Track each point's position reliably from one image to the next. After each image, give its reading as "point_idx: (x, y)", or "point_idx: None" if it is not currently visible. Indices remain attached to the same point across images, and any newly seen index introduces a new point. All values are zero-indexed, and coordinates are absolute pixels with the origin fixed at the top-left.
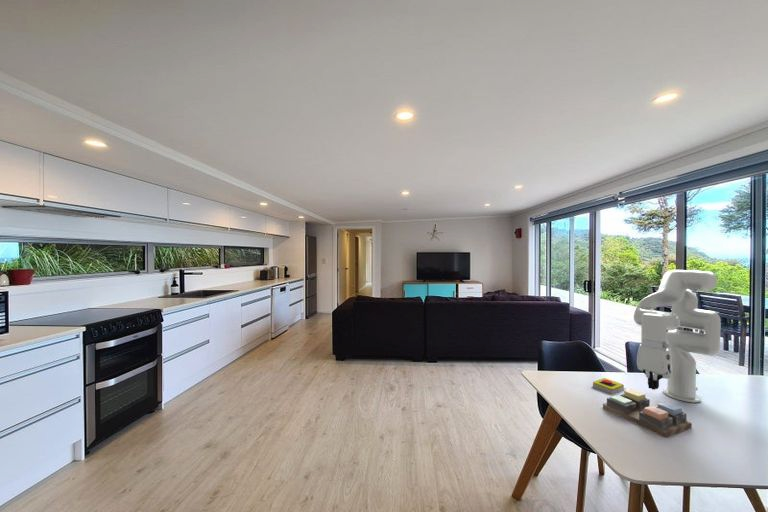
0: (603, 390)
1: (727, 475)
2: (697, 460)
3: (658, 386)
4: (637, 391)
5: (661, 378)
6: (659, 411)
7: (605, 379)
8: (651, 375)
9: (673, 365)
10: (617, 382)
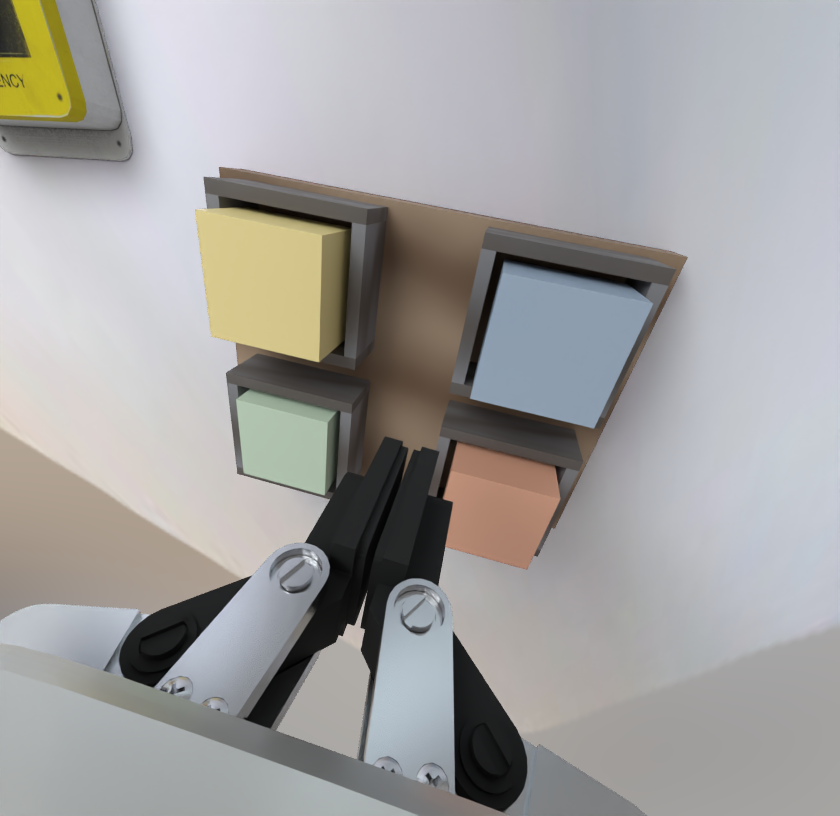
0: (59, 126)
1: (764, 625)
2: (670, 595)
3: (450, 514)
4: (252, 227)
5: (473, 667)
6: (513, 530)
7: None
8: (307, 628)
9: None
10: None
